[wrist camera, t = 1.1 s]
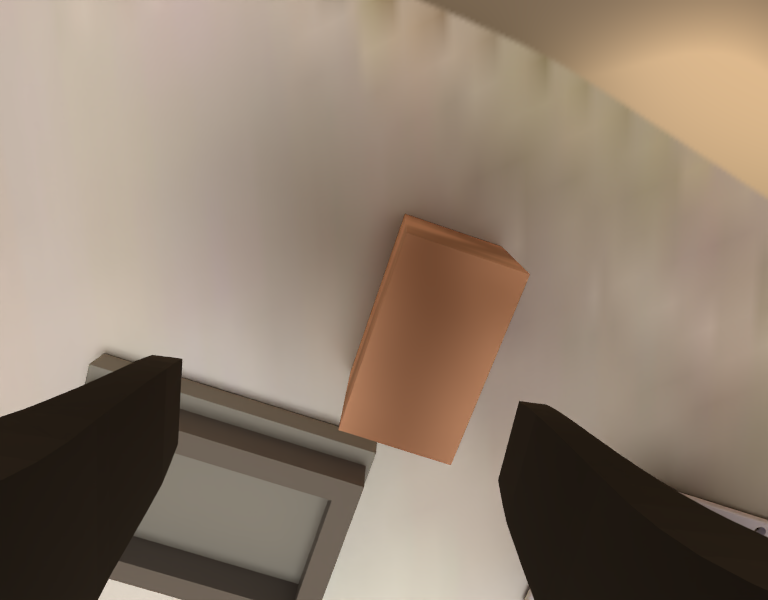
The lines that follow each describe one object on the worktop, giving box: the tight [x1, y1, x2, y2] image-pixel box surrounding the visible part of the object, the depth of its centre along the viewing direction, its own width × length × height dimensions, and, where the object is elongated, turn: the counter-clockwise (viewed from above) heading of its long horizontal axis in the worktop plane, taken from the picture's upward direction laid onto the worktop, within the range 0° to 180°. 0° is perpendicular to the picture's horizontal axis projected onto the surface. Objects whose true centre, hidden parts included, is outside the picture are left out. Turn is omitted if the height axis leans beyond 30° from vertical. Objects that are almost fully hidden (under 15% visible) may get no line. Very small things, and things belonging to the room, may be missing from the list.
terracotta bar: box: [338, 214, 530, 465], centre depth 21 cm, size 4×7×5 cm, turn 162°
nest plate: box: [85, 354, 377, 600], centre depth 24 cm, size 12×9×3 cm
